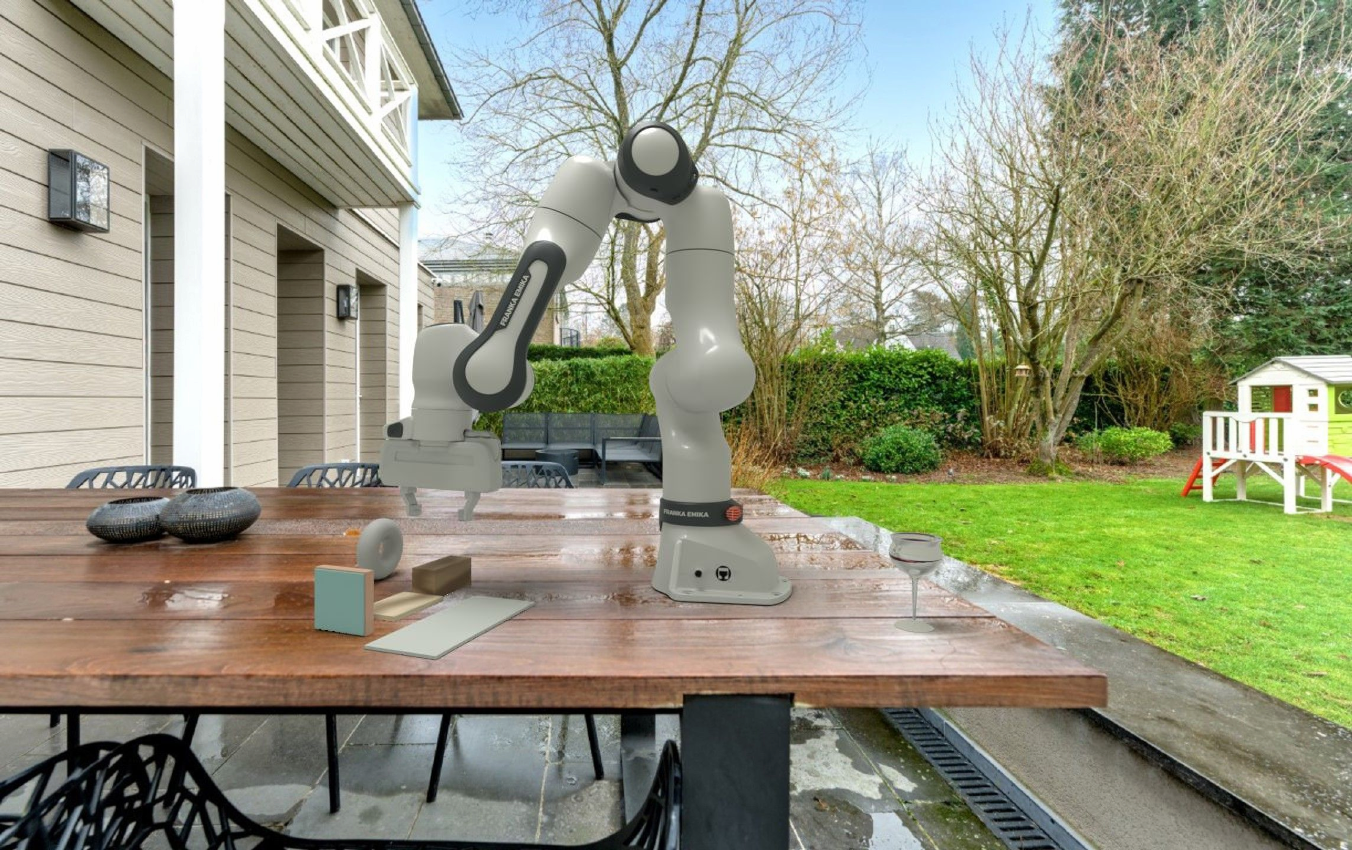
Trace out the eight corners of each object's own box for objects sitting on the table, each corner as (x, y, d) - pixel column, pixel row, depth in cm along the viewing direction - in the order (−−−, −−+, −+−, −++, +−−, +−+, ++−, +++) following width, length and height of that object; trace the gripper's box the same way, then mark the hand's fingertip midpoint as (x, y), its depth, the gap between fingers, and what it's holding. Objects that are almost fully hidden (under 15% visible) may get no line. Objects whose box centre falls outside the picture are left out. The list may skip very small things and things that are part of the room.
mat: (534, 604, 95) (534, 602, 95) (435, 659, 74) (435, 656, 74) (475, 597, 98) (475, 595, 98) (364, 648, 77) (364, 645, 77)
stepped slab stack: (479, 586, 105) (479, 558, 105) (394, 622, 87) (394, 588, 87) (442, 581, 107) (442, 554, 107) (352, 616, 89) (352, 583, 89)
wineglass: (943, 637, 84) (945, 543, 83) (887, 631, 86) (889, 539, 85) (938, 621, 90) (940, 533, 90) (886, 615, 92) (888, 530, 92)
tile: (373, 633, 83) (373, 570, 83) (364, 637, 81) (364, 573, 81) (323, 626, 85) (323, 564, 85) (313, 629, 84) (313, 567, 83)
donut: (370, 587, 103) (370, 524, 103) (351, 586, 104) (351, 523, 104) (407, 571, 113) (407, 514, 113) (389, 570, 114) (389, 513, 113)
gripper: (512, 430, 101) (509, 520, 101) (402, 426, 107) (399, 510, 107) (488, 431, 95) (485, 527, 95) (373, 426, 101) (371, 516, 101)
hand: (439, 518), depth 101 cm, fingers open, 8 cm apart
